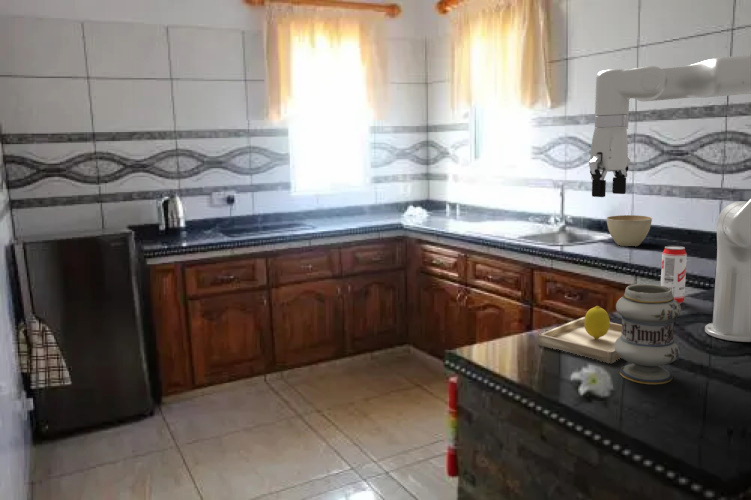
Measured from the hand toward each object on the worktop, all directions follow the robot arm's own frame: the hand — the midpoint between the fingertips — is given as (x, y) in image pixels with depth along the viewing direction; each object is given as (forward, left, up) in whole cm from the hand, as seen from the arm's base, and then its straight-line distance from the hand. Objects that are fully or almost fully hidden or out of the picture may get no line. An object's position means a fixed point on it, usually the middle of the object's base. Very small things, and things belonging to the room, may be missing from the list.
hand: (608, 195), depth 151 cm
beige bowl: (-115, -52, -34) cm, 131 cm away
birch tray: (+13, +5, -33) cm, 36 cm away
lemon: (+13, +5, -32) cm, 35 cm away
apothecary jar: (+24, +22, -34) cm, 47 cm away
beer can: (-34, +2, -34) cm, 48 cm away
